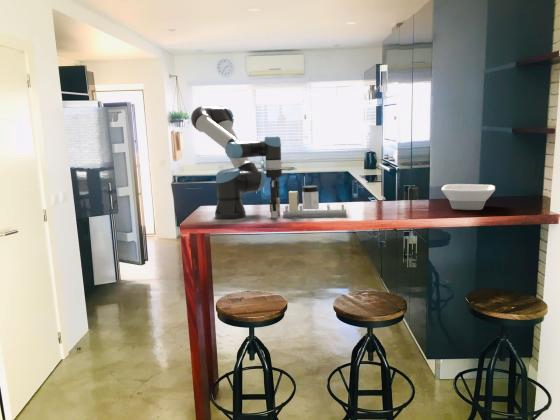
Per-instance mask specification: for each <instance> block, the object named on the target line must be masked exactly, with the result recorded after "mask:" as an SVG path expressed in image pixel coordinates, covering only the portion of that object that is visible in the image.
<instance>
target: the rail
mask: <svg viewBox="0 0 560 420" xmlns="http://www.w3.org/2000/svg"><path fill="white" fill-rule="evenodd" d="M299 199H300V195H299V192H298V190H294V191H293V190H289V191H288V204H285V206H284V208H285V209H283V214H282V219H309V218H312V219H313V218H314V219H315V218H316V219H319V218H322V219H323V218H325V219H326V218H347V216H348V215H347V208H345V203H341V208H330V203H327V204H326V208H319V209H303V204H300V201H299Z"/></svg>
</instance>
